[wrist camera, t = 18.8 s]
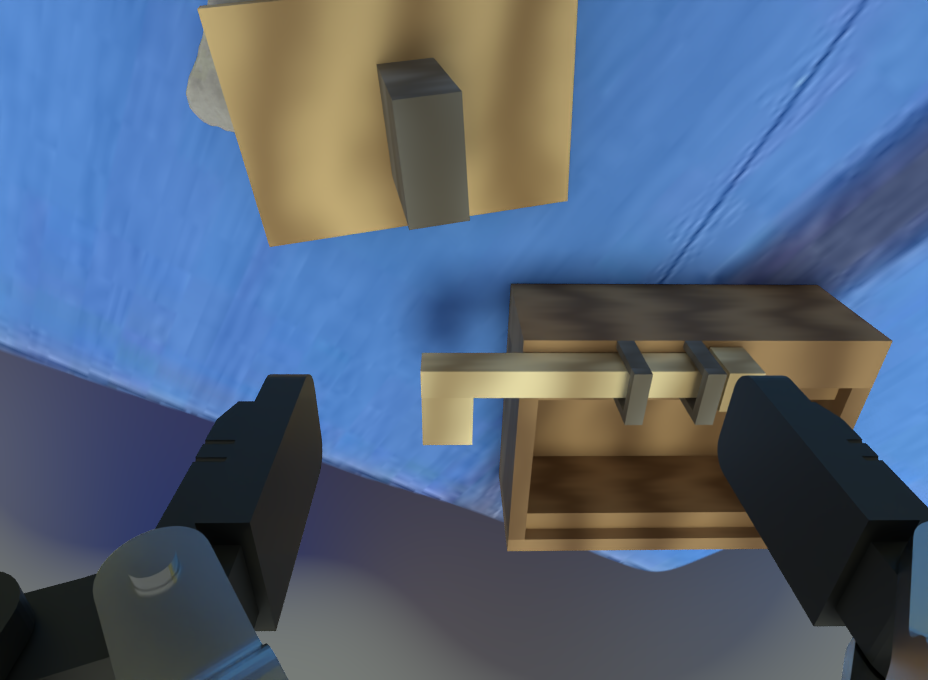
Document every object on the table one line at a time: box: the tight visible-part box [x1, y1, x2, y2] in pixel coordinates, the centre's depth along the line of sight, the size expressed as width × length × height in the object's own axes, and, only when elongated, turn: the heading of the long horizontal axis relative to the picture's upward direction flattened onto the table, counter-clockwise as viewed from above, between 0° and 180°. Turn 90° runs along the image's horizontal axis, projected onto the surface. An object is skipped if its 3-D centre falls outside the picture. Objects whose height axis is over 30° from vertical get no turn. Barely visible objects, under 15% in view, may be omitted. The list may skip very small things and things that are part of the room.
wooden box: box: [499, 284, 892, 551], centre depth 40 cm, size 22×18×12 cm
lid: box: [198, 0, 578, 247], centre depth 29 cm, size 19×12×8 cm, turn 95°
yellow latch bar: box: [421, 347, 766, 445], centre depth 34 cm, size 19×6×3 cm, turn 89°
